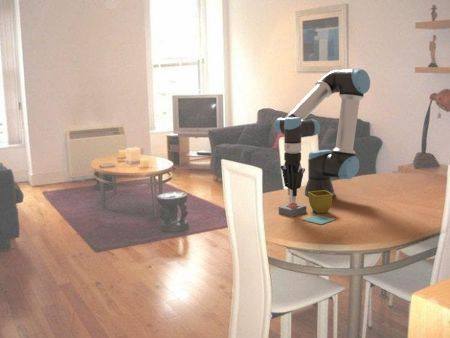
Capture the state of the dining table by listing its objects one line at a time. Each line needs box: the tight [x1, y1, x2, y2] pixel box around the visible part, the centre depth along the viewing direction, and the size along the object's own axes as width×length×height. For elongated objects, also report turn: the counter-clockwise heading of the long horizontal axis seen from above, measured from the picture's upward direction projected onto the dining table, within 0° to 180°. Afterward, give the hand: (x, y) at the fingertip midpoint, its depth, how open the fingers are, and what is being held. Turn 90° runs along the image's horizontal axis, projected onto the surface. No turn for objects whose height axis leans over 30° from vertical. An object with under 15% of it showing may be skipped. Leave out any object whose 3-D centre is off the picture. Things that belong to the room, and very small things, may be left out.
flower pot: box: [307, 190, 334, 214], centre depth 244 cm, size 9×9×9 cm
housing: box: [278, 203, 307, 217], centre depth 244 cm, size 10×8×3 cm
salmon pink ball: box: [287, 202, 298, 208], centre depth 244 cm, size 4×4×4 cm
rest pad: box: [302, 214, 336, 226], centre depth 232 cm, size 10×10×1 cm
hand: (292, 202), depth 243 cm, fingers closed
